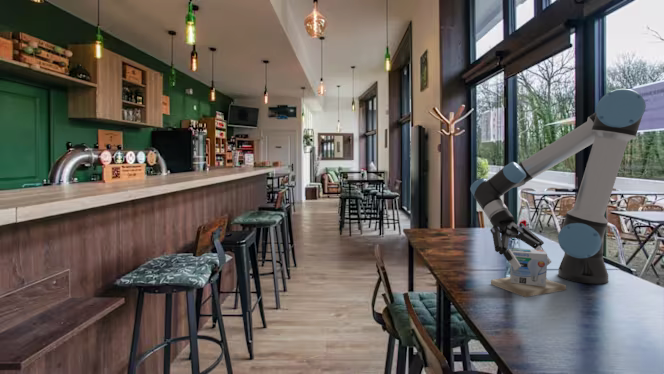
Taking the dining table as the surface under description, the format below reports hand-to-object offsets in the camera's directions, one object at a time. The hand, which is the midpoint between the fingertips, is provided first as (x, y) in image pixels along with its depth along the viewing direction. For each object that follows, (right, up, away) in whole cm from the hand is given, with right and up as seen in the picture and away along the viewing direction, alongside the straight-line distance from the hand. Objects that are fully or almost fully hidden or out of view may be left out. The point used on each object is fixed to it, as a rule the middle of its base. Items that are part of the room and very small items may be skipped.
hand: (533, 266), depth 127 cm
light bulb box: (-1, -6, +2) cm, 7 cm away
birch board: (-1, -7, +2) cm, 8 cm away
